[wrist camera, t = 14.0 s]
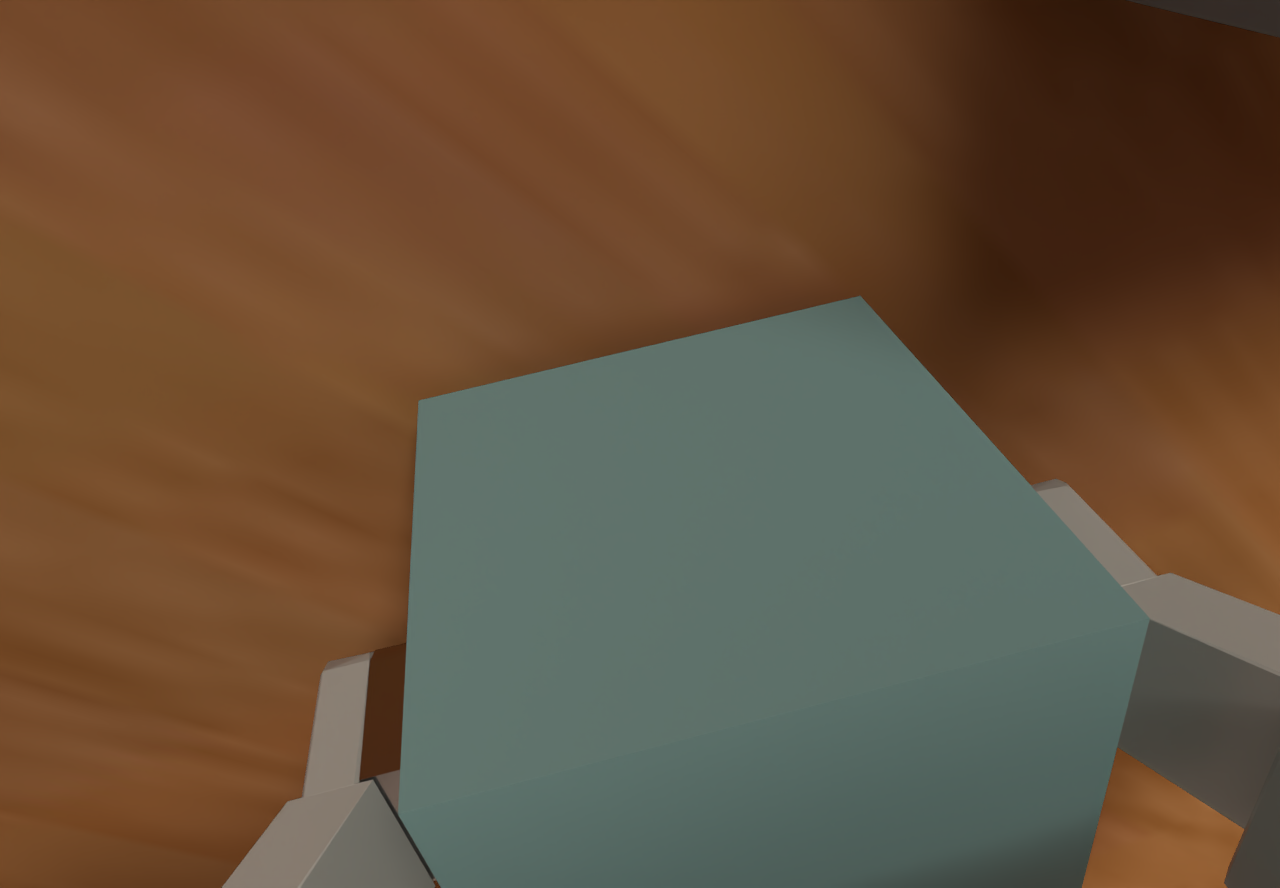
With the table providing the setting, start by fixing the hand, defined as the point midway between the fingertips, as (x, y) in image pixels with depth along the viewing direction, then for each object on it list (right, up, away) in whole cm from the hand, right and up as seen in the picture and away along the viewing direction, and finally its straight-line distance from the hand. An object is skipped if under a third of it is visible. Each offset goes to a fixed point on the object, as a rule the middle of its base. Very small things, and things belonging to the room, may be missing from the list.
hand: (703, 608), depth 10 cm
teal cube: (0, +1, +1) cm, 2 cm away
